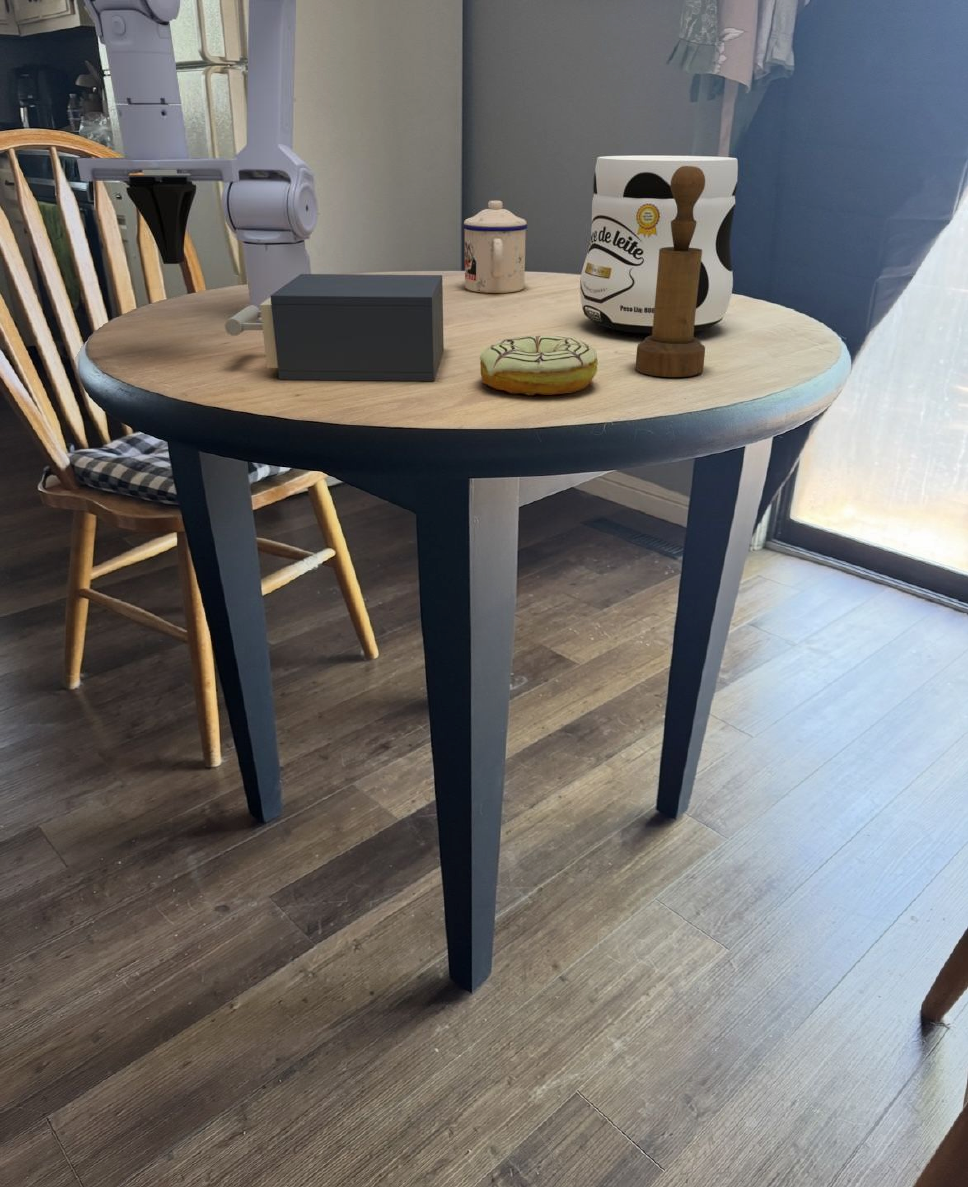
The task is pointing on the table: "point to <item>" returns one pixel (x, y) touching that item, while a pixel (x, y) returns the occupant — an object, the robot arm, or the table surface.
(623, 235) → the milk container
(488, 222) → the teacup with lid
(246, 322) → the drawer
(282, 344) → the cabinet
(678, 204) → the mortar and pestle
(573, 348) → the decorated donut
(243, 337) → the table surface
